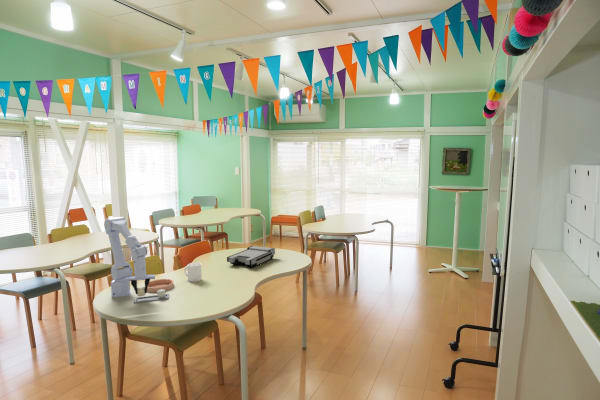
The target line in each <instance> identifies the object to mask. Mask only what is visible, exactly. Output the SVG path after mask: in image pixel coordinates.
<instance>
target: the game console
mask: <svg viewBox="0 0 600 400" xmlns="http://www.w3.org/2000/svg"><path fill="white" fill-rule="evenodd" d="M275 254H276V248H274V247H265V246H257V245H251V246H249V247H247V248H246V249H245V250H242V251H239V252H237V253H234V254H231V255H229V256H226V262H227V263H230V265H232V264H234V265H233V266H242V265H244V264H245V266H246V267H248V266H251V267H250V268H253V267H255V268H257V267H259V266H261V265H263V264H265V263H264V262H266V261H268V260H270V259H272V260H273V258H274V257H275V256H274V255H275ZM270 261H271V260H270ZM268 262H269V261H268ZM243 263H244V264H243ZM262 263H263V264H262ZM266 263H267V262H266ZM241 264H242V265H241ZM260 264H261V265H260ZM258 265H259V266H258ZM256 266H257V267H256Z"/></svg>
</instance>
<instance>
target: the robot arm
mask: <svg viewBox="0 0 600 400" xmlns="http://www.w3.org/2000/svg"><path fill="white" fill-rule="evenodd" d="M127 224H128V222H127V220H126V218H125V216H119V217H118V216H117V217H110V218H105V220H104V223H103V225H104V231H105V234H107V235H108V239H109V244H110V247H111V252H112V256H113V257H112V258H113V260H114V264H113V265H112V266H111V268H110V272H111V273H110V275H111V279H112V280H111V283H110V289H111V298H119V297H129V296H131V295H132V293H133V291H132V290H131V286H132V287H133V290H134V292H135V295H137V288H138V281H144V287H145V293H146V294H147V293H148V291H147V287H148V284H149V282H150V281H151V280H156V274H147V268H146V267H147V266H146V265H147V264H146V263H147V262H146V256H147V255H148V249H147V246H146V245H144V244H141V242H140V241H139V240H138V239H137V237H136V236H134V235H132V233H131V232H130V230H129V227H128V226H127ZM119 234H120V235H121V236H122V237H123V238H124V239H125V244H126V246H127V247H128V248H129V250H130V256H131V258H132V262H133V267H132V266H131V263H130V262H128V261H125V257H124V255H125V254H124V251H123V247H122V243H121V239H120V235H119ZM133 270H134V271H133ZM133 272H134V276H133Z"/></svg>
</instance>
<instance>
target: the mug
mask: <svg viewBox="0 0 600 400" xmlns="http://www.w3.org/2000/svg"><path fill="white" fill-rule="evenodd" d="M184 275H186V277H187V280H188V282H190V283H197V282H200V281H202V276H203V275H202V263H201V262H190V263H188V264H187V265H186V266H185V267H184Z"/></svg>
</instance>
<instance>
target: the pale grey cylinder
mask: <svg viewBox="0 0 600 400" xmlns="http://www.w3.org/2000/svg"><path fill="white" fill-rule="evenodd" d="M156 293H157V295H158V299H160V298H165V297H166V296H165V294H166V291H165V290H164V289H161V290H158V291H157V292H156Z"/></svg>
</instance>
